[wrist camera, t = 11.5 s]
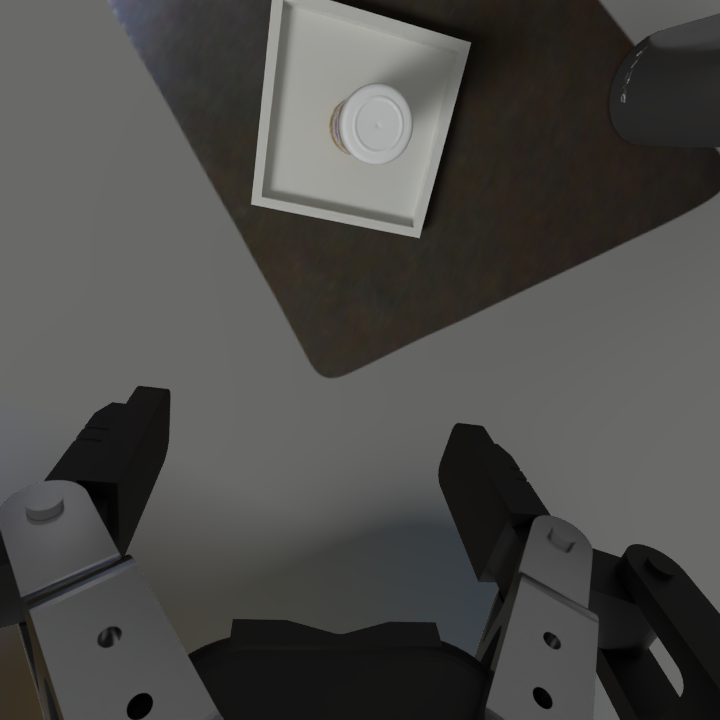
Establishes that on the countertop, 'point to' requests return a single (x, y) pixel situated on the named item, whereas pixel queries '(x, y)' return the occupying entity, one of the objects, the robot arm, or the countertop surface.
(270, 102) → the tray
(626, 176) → the countertop surface
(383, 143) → the sprinkles bottle
